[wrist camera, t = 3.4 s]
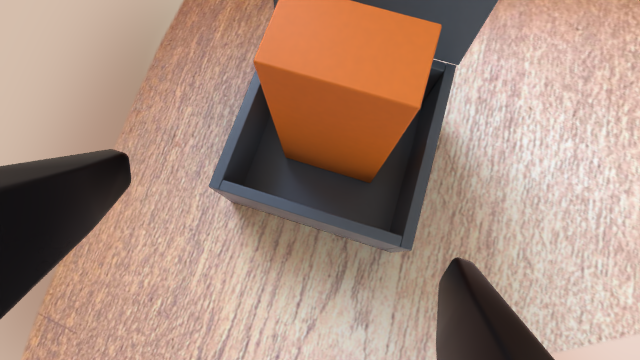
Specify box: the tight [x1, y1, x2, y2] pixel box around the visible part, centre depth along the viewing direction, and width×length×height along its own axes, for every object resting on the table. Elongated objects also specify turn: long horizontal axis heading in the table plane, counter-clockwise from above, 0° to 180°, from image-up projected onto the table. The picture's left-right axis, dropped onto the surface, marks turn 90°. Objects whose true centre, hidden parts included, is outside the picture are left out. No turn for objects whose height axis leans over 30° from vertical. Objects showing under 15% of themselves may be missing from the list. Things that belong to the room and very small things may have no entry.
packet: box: [254, 0, 442, 183], centre depth 17 cm, size 4×6×11 cm, turn 73°
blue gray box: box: [209, 60, 456, 252], centre depth 21 cm, size 11×11×5 cm
